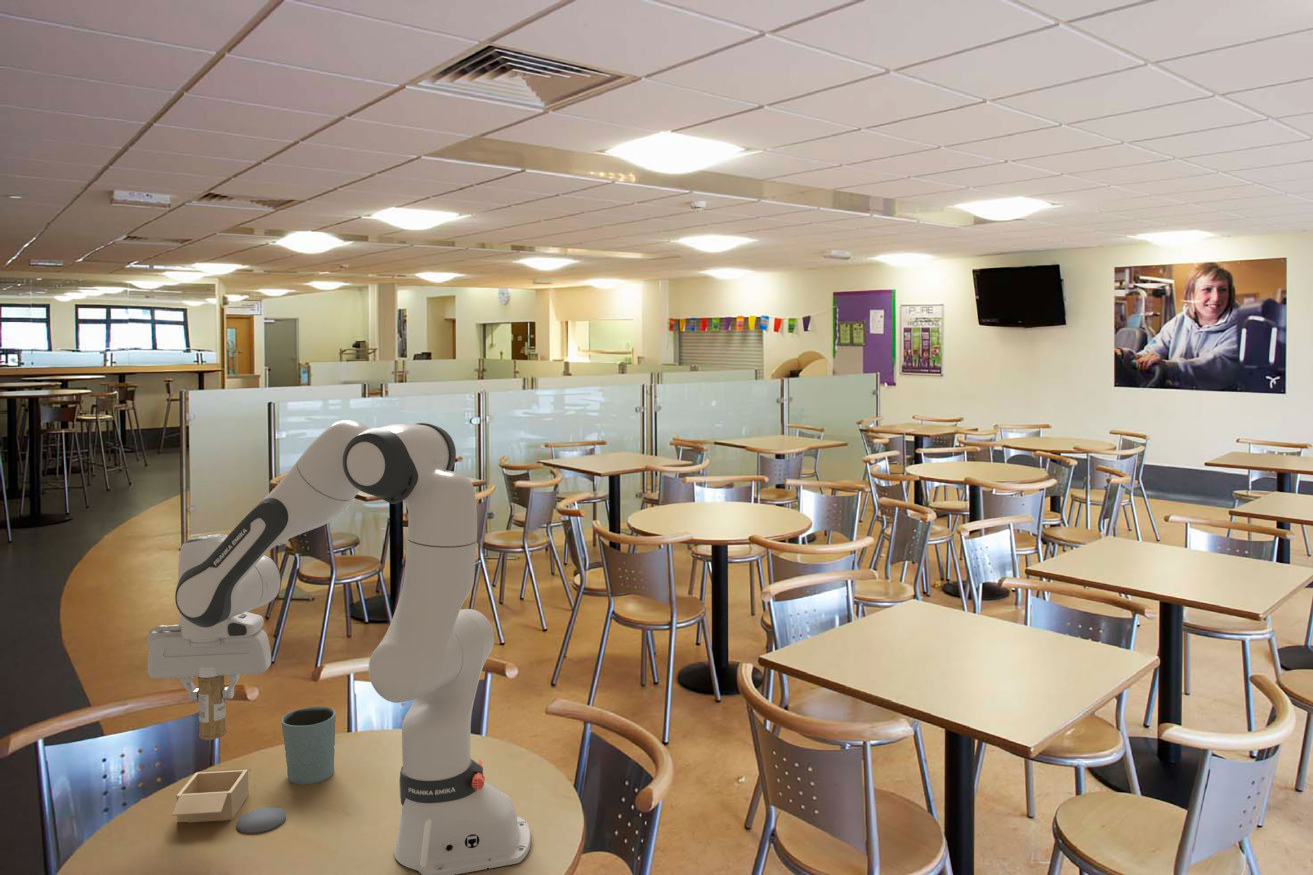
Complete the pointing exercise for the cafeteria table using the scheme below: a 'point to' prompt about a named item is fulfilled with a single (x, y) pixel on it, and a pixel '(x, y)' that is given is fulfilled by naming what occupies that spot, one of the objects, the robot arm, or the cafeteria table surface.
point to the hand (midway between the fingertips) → (211, 698)
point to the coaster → (261, 820)
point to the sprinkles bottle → (211, 704)
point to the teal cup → (309, 744)
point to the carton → (212, 796)
